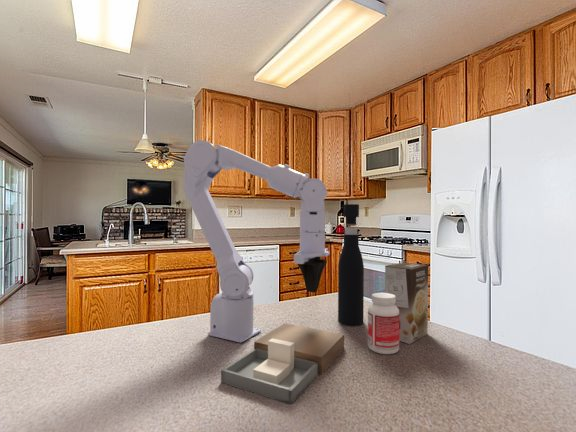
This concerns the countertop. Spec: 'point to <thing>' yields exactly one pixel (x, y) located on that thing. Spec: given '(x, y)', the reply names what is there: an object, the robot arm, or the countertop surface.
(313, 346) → the board
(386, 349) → the pill bottle
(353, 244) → the black water bottle
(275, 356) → the tile
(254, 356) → the tray
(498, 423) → the countertop surface
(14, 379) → the countertop surface
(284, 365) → the tile
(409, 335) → the coffee box
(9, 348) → the countertop surface
